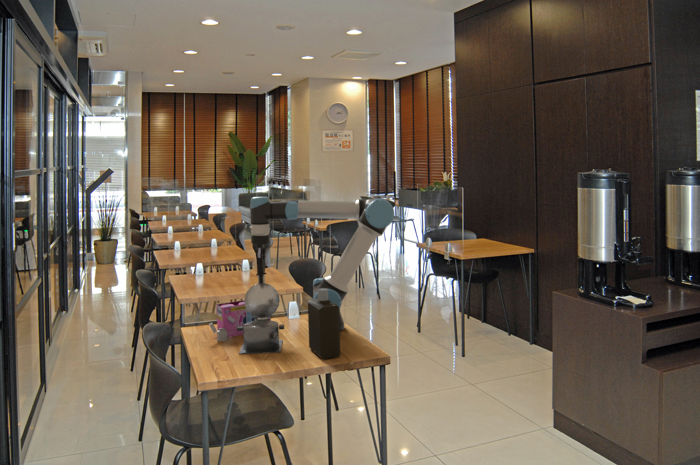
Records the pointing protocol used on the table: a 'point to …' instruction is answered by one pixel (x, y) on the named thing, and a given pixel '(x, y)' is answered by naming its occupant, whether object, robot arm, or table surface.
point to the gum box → (233, 317)
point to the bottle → (324, 326)
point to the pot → (261, 337)
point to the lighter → (219, 333)
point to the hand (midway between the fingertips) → (261, 290)
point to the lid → (262, 300)
